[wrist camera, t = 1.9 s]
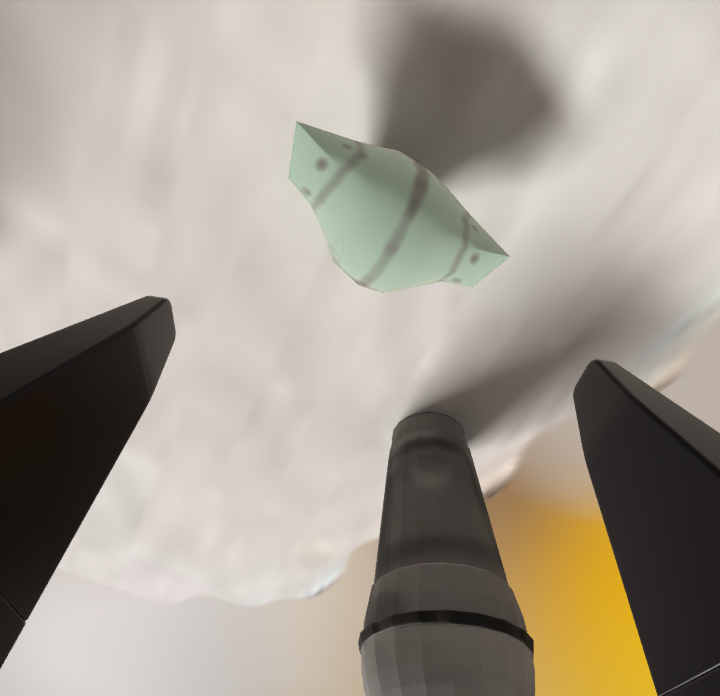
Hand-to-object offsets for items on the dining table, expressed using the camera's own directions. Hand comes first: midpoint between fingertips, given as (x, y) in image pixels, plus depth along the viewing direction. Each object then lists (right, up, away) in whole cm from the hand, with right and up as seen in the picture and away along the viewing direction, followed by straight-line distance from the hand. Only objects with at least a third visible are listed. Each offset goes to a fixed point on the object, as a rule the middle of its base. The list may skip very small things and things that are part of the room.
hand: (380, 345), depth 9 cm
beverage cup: (+4, -6, +18) cm, 19 cm away
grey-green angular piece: (+1, +7, +9) cm, 11 cm away
